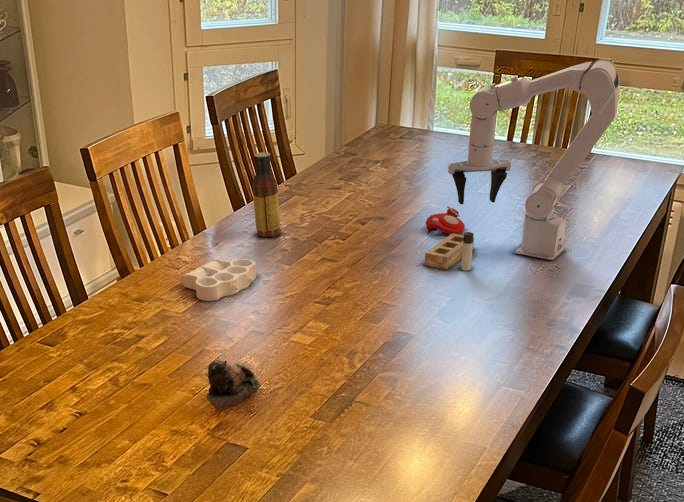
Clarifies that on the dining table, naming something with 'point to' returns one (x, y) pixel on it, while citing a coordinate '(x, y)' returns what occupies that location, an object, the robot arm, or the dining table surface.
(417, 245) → the dining table surface
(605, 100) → the robot arm
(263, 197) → the sauce bottle
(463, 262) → the marker
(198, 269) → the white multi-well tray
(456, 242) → the pen block
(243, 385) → the bison figurine
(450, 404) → the dining table surface
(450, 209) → the red curved piece
